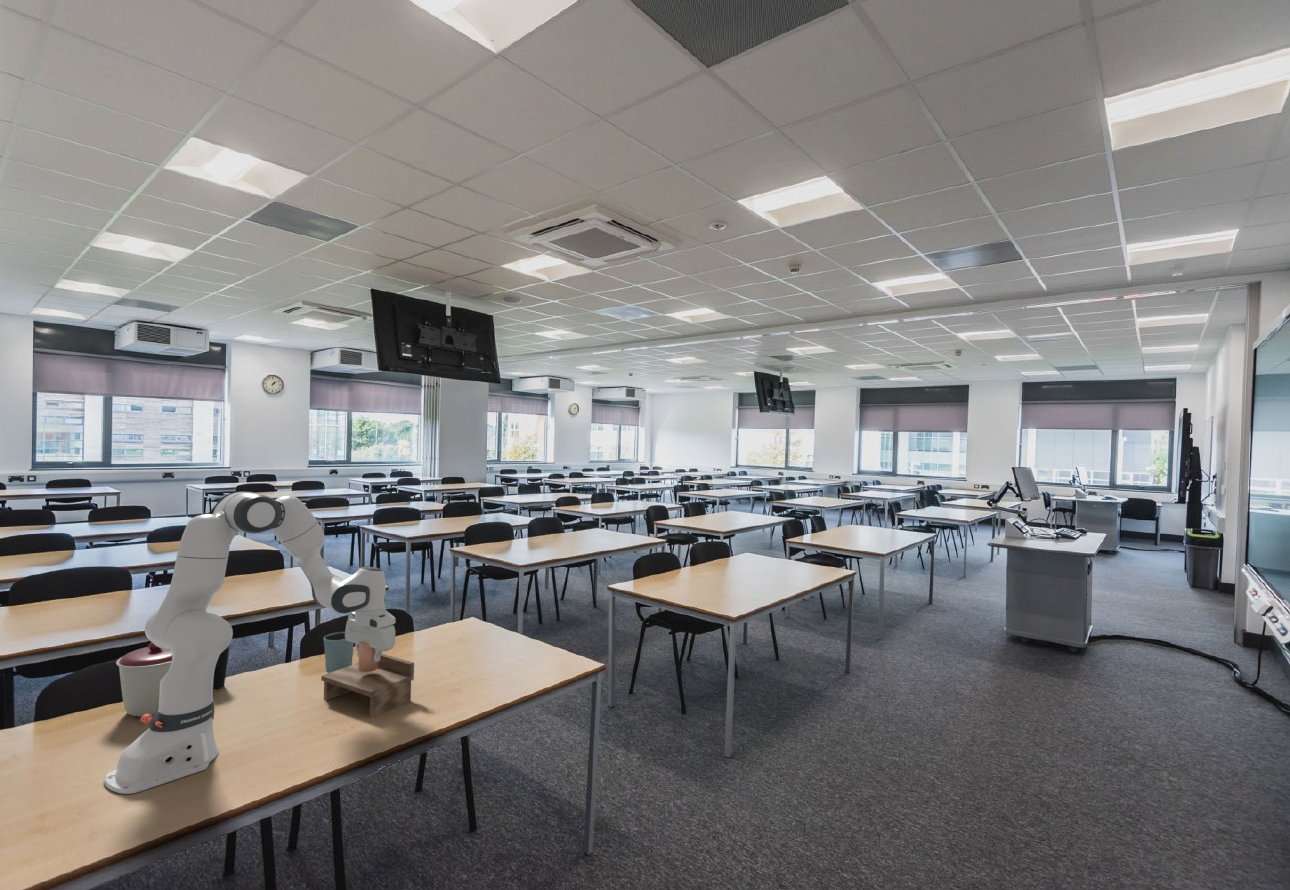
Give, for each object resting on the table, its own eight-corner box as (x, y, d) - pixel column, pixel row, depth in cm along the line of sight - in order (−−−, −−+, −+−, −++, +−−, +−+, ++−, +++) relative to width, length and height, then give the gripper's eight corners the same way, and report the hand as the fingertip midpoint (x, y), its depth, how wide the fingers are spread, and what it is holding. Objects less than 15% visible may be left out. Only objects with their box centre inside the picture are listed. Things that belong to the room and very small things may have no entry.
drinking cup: (214, 693, 194) (216, 632, 194) (195, 690, 195) (197, 630, 195) (234, 684, 201) (236, 625, 201) (216, 681, 203) (218, 623, 203)
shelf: (370, 718, 180) (371, 679, 180) (320, 700, 191) (321, 663, 191) (413, 699, 194) (414, 662, 194) (364, 683, 205) (365, 648, 205)
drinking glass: (352, 671, 215) (353, 638, 215) (320, 674, 212) (321, 641, 212) (354, 661, 225) (355, 630, 225) (324, 664, 221) (325, 632, 221)
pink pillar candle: (366, 673, 189) (367, 645, 189) (354, 669, 192) (355, 641, 192) (382, 667, 194) (383, 639, 194) (370, 663, 197) (371, 636, 197)
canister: (112, 708, 181) (114, 639, 181) (186, 692, 194) (188, 627, 194) (116, 729, 169) (119, 655, 169) (195, 710, 181) (198, 642, 181)
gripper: (340, 613, 195) (339, 655, 195) (382, 624, 185) (381, 668, 185) (357, 609, 200) (356, 649, 200) (399, 619, 191) (398, 661, 191)
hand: (368, 658), depth 193 cm, fingers closed on pink pillar candle, 6 cm apart
